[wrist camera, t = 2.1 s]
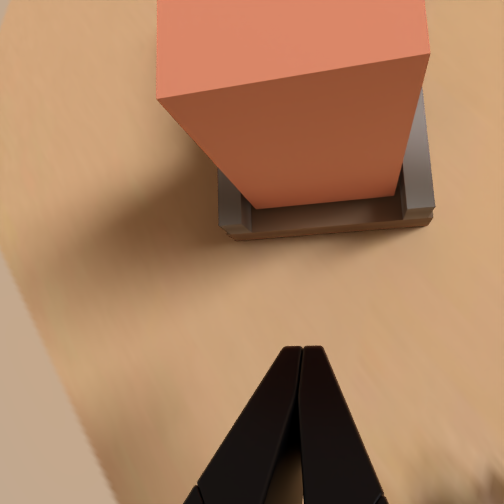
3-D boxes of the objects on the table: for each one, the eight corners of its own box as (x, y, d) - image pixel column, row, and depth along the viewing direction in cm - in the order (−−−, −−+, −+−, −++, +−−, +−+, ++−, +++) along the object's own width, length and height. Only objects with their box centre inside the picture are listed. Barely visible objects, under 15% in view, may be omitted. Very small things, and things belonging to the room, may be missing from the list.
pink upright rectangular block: (394, 195, 18) (429, 53, 9) (255, 209, 20) (156, 99, 10) (386, 108, 19) (411, -114, 9) (253, 127, 20) (157, -49, 11)
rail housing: (427, 225, 19) (441, 204, 16) (235, 240, 22) (212, 225, 18) (400, -35, 22) (407, -100, 18) (229, 1, 24) (208, -51, 21)
